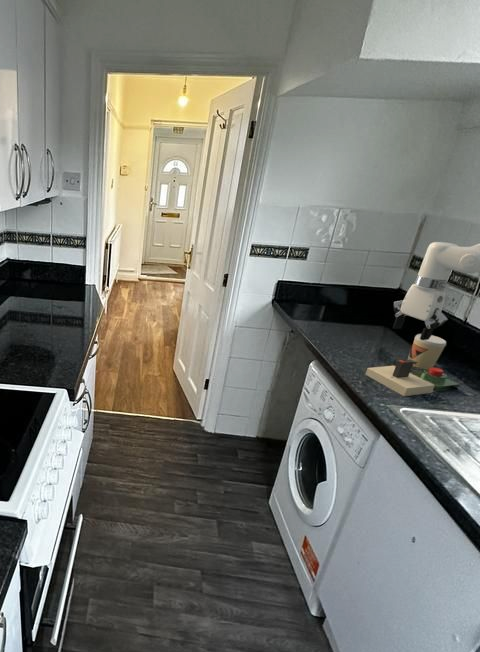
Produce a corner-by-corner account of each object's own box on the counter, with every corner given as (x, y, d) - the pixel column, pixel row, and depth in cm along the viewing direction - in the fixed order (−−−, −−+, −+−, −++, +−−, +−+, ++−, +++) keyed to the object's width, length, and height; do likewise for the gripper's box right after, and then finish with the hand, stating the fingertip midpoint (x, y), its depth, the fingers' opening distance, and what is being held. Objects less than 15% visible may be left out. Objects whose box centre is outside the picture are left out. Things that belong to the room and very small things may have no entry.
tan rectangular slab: (431, 393, 136) (435, 384, 135) (404, 396, 133) (407, 387, 132) (390, 372, 150) (393, 365, 148) (364, 375, 146) (367, 367, 145)
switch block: (456, 389, 140) (461, 379, 138) (437, 392, 137) (441, 381, 136) (425, 375, 149) (429, 365, 148) (406, 377, 147) (410, 367, 145)
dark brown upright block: (403, 374, 142) (409, 359, 139) (408, 376, 140) (414, 361, 138) (392, 375, 140) (398, 360, 138) (397, 377, 139) (402, 362, 136)
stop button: (444, 376, 141) (446, 371, 140) (436, 376, 140) (438, 372, 139) (433, 371, 144) (435, 366, 143) (425, 372, 143) (427, 367, 142)
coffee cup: (398, 360, 160) (410, 332, 154) (424, 363, 159) (437, 335, 153) (411, 371, 151) (424, 342, 146) (439, 375, 150) (453, 345, 145)
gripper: (467, 290, 123) (444, 343, 130) (413, 276, 138) (395, 324, 145) (448, 290, 121) (426, 344, 128) (395, 276, 136) (378, 325, 143)
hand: (410, 333), depth 136 cm, fingers open, 9 cm apart
